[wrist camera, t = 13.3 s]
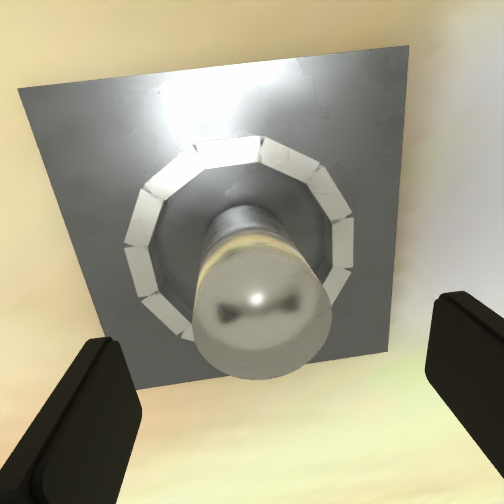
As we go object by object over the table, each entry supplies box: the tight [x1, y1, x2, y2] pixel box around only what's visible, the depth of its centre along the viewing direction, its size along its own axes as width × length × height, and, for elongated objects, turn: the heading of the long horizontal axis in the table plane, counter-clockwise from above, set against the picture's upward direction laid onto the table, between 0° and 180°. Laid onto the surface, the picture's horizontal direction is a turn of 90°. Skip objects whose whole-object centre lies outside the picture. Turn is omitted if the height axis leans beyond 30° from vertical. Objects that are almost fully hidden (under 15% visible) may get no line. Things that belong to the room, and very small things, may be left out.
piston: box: [192, 206, 332, 380], centre depth 15 cm, size 5×5×8 cm
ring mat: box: [18, 45, 409, 390], centre depth 18 cm, size 19×19×2 cm
